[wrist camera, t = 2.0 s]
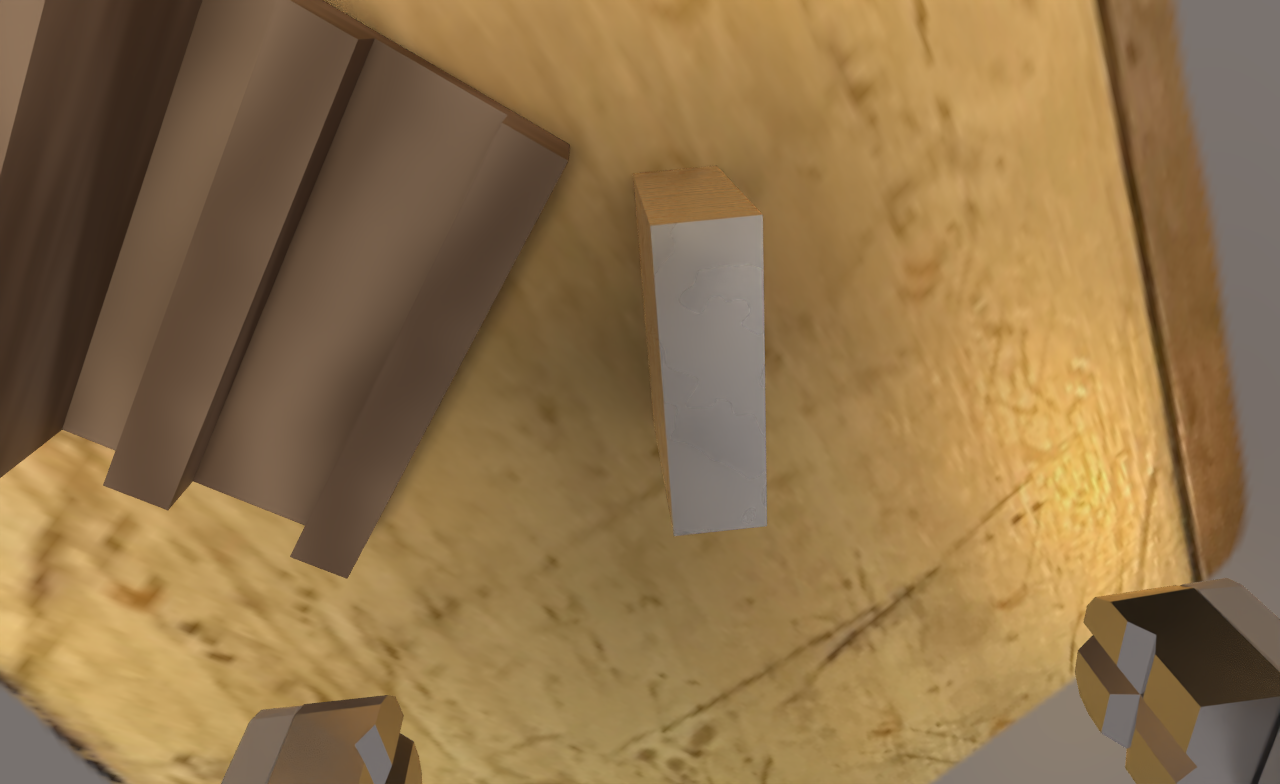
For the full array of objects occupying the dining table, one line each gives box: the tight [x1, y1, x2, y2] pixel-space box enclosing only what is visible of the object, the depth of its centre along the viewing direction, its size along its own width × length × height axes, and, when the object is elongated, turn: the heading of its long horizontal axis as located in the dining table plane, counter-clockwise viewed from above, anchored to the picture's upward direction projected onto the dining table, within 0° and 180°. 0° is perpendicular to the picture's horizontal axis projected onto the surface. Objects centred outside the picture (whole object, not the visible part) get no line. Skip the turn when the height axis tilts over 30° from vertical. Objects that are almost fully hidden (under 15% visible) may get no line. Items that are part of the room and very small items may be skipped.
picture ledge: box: [0, 0, 570, 578], centre depth 24 cm, size 14×18×9 cm
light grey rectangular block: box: [633, 166, 767, 536], centre depth 26 cm, size 3×10×8 cm, turn 5°
